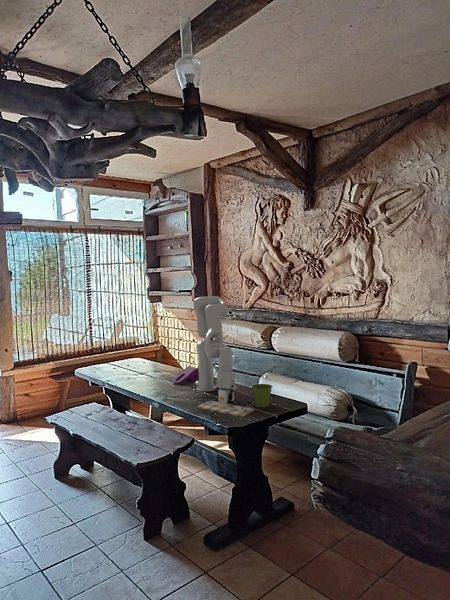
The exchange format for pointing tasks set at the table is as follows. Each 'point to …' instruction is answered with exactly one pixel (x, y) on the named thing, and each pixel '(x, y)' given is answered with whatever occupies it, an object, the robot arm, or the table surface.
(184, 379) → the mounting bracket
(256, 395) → the plant pot
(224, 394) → the box
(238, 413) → the rail board
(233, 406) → the rail
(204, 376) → the robot arm
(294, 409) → the table surface
